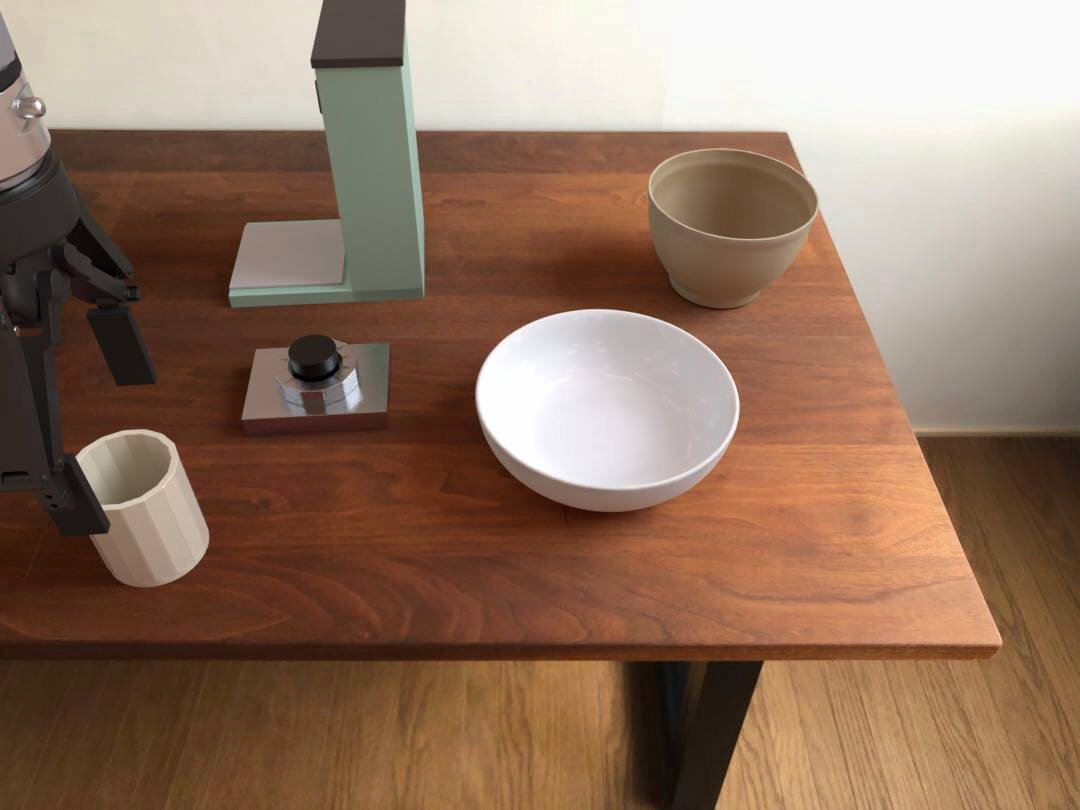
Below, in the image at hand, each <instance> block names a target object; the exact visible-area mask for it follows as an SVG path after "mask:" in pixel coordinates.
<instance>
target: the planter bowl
mask: <svg viewBox="0 0 1080 810" xmlns="http://www.w3.org/2000/svg"><path fill="white" fill-rule="evenodd" d="M647 200H648V207H647V209H648V212H647V214H648V216H647V217H648V227H649V232H650V233H649V234H650V237H651V241H652V244H653V248H654V249H655V253H656V255H657V257H658V259H659V261H660V262H661V264H662V266H663V268H664V269H665V270H666V272H667V274H668V279H669V281H670V282H669V283H670V284H671V286H672V287H673V289H674V290H675V292H677V294H679V295H680V296H681V297H682V298H683V299H685V300H687V301H689V302H691V303H693V304H696V305H699V306H702V307H706V308H710V309H735V308H740V307H742V306H746V305H748V304H750V303H751V302H753V301H755V299H757V298H758V297H759V295H760V294H761V292H762V290H763V289H765V288H767V287H768V286H770V285H772V284H773V283H774V282H776V280H777V279H779V278H780V277H781V275H783V274H784V273H785V272H786V270H788V268H789V267H790V266H791V265H792V263H793V262H794V261H795V260H796V258H797V256H798V255H799V253H800V251H801V250H802V248H803V246H804V244H805V243H806V240H807V238H808V235H809V233H810V230H811V227H812V225H813V224H814V223H815V220H816V219H817V215H818V213H819V208H820V199H819V196H818V191H817V189H816V188H815V186H814V185H813V183H811V181H809V179H808V178H807V177H806V176H805V175H803V173H801V172H800V171H799V170H797V169H796V168H794V167H793V166H791V165H789V164H787V163H786V162H783V161H781V160H778V159H776V158H773V157H771V156H768V155H766V154H761V153H758V152H754V151H750V150H749V151H748V150H743V149H736V148H724V147H722V148H720V147H718V148H717V147H716V148H701V149H694V150H691V151H686V152H685V151H684V152H681V153H679V154H675V155H673V156H670V157H669V158H667V159H665V160H664V161H662V162H661V163H659V164H658V165H657V166H656V167H655V168H654V169H653V170H652V172H651V174H650V176H649V178H648V182H647Z"/></svg>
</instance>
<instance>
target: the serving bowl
mask: <svg viewBox="0 0 1080 810" xmlns="http://www.w3.org/2000/svg"><path fill="white" fill-rule="evenodd" d="M474 389H475V391H474V395H475V396H474V399H475V408H476V412H477V416H478V420H479V423H480V426H481V430H482V432H483V436H484V437H485V439H486V441H487V444H488V445H489V447H490V449H491V451H492V452H493V454H494V455H495V457H496V458H497V460H498V461H499V462H500V464H501V465H502V466H503V467H504V468H505V469H506V470H507V471H508V472H509V473H510V475H512V476H513V477H514V478H515V479H516V480H518V481H519V482H520V483H522V484H523V485H524V486H526V487H527V488H529V489H530V490H531V491H534V492H536V493H537V494H539V495H541V496H543V497H544V498H547V499H548V500H551V501H554V502H557V503H560V504H562V505H565V506H569V507H571V508H574V509H575V508H576V509H581V510H585V511H592V512H602V513H603V512H604V513H605V512H606V513H608V512H609V513H617V512H619V513H620V512H630V511H636V510H642V509H646V508H650V507H654V506H658V505H660V504H663V503H666V502H669V501H670V500H673V499H675V498H677V497H679V496H680V495H682V494H684V493H686V492H688V491H690V489H692V488H694V487H695V486H696V485H697V484H699V483H701V481H702V480H703V479H704V478H705V477H707V475H709V474H710V473H711V472H712V470H714V468H715V467H716V466H717V464H718V463H719V461H720V460H721V459H722V458H723V456H724V454H725V452H727V449H728V447H729V445H730V443H731V442H732V439H733V437H734V435H735V432H736V430H737V427H738V424H739V418H740V397H739V393H738V389H737V386H736V383H735V381H734V379H733V377H732V374H731V373H730V371H729V370H728V368H727V366H726V365H725V364H724V362H723V361H722V360H721V359H720V358H719V357H718V355H717V354H716V353H715V352H714V351H713V350H712V349H710V348H709V346H707V345H706V344H704V343H703V342H702V341H701V340H700V339H698V338H697V337H695V336H693V335H692V334H691V333H689V332H687V331H685V330H684V329H682V328H681V327H678V326H676V325H674V324H672V323H669V322H667V321H664V320H663V319H659V318H655V317H652V316H649V315H644V314H641V313H637V312H631V311H625V310H619V309H618V310H617V309H606V308H605V309H604V308H603V309H602V308H591V309H588V308H587V309H578V310H571V311H569V310H568V311H565V312H560V313H555V314H552V315H551V314H550V315H548V316H545V317H541V318H539V319H537V320H534V321H532V322H529V323H527V324H524V325H523V326H521V327H520V328H517V329H516V330H514V331H513V332H511V333H510V334H508V335H507V336H505V338H503V339H501V341H500V342H499V343H498V344H497V345H495V346H494V348H493V349H492V350H491V351H490V353H489V354H488V355H487V357H486V358H485V360H484V362H483V363H482V365H481V368H480V370H479V371H478V375H477V379H476V383H475V388H474Z"/></svg>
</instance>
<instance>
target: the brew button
mask: <svg viewBox="0 0 1080 810" xmlns="http://www.w3.org/2000/svg"><path fill="white" fill-rule="evenodd" d="M332 339H333V338H332ZM332 339H331V337H330V336H327V335H324V334H319V333H318V334H317V333H312V334H307V335H304V336H301V337H299V338H296V339H295V340H294V341H293V342H291V344H290V345H289V346H290V347H289V346H288V347H289V350H288V355H289V359H290V363H291V368H292V372H293V374H294V376H295V377H296V378H297V379H299V380H301V381H304V382H320V381H323V380H325V379H327V378H330V377H332V376H333V375H334V374H335V373H336V372H337V371H338V369H339V359H338V354H337V348H336V344H335V342H334V341H333V340H332Z"/></svg>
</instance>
